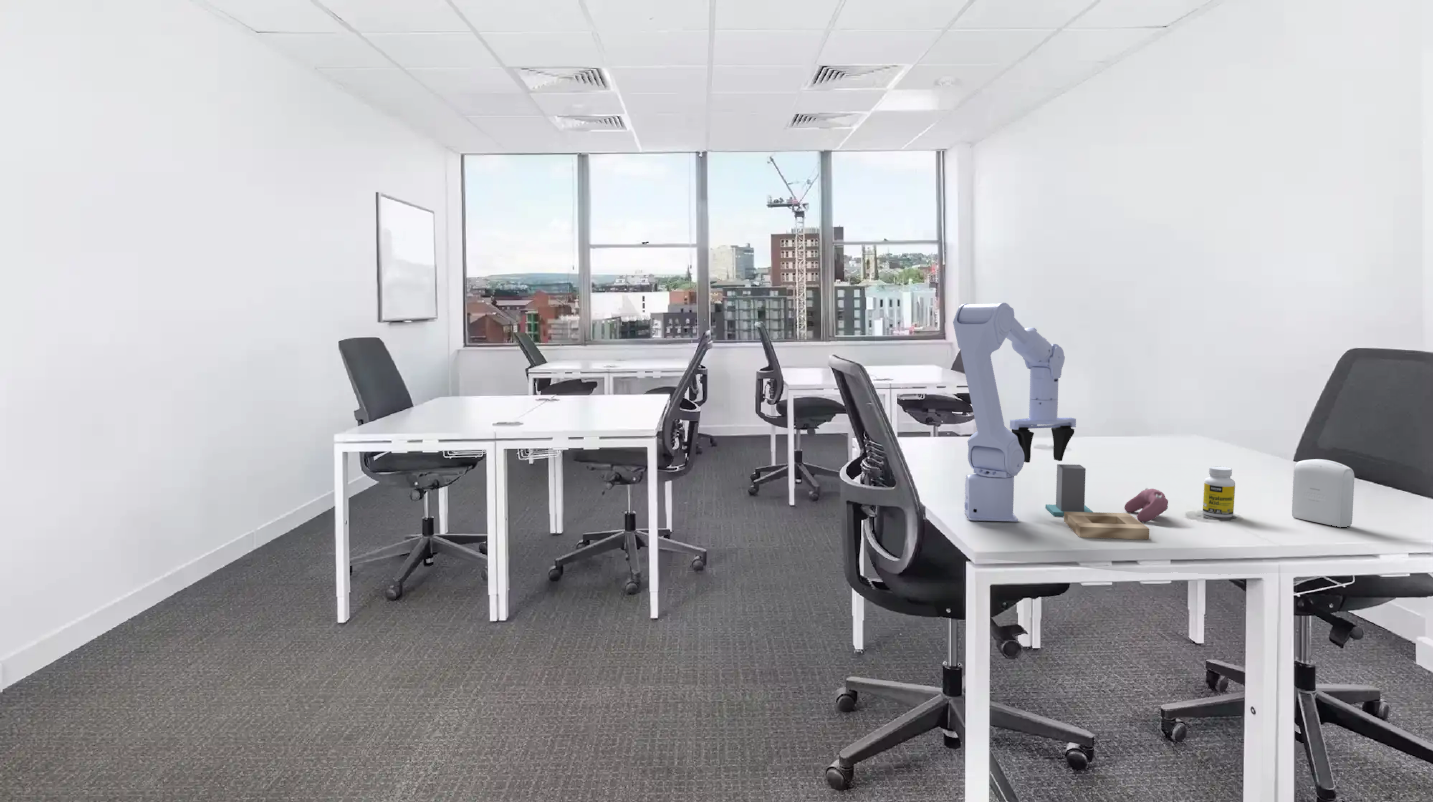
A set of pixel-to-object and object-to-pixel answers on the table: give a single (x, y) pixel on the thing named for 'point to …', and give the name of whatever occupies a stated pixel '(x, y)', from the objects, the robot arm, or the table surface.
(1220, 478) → the supplement bottle
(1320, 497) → the photo printer
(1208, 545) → the table surface
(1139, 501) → the video game controller
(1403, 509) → the table surface
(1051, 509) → the rubber mat
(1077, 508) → the plug
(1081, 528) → the square wooden frame
